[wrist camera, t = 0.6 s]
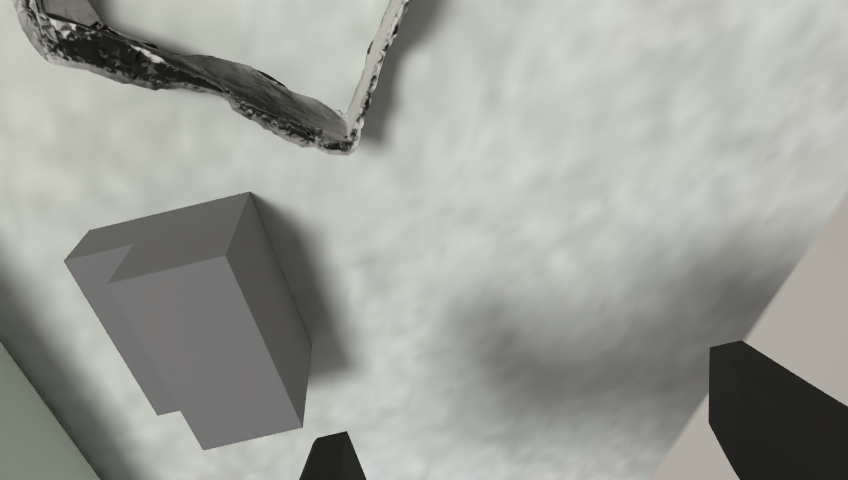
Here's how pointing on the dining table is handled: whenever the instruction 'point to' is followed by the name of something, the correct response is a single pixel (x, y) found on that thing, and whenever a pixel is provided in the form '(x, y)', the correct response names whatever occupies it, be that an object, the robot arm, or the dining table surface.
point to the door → (33, 433)
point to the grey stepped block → (201, 317)
